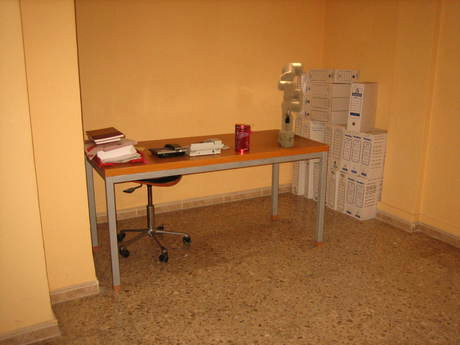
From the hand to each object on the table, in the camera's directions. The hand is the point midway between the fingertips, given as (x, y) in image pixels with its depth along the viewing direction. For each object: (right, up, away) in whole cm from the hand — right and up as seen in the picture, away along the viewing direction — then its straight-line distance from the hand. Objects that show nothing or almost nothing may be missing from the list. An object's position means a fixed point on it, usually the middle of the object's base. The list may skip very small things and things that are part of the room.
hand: (287, 122), depth 331 cm
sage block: (0, -1, 0) cm, 1 cm away
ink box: (0, -18, +5) cm, 19 cm away
